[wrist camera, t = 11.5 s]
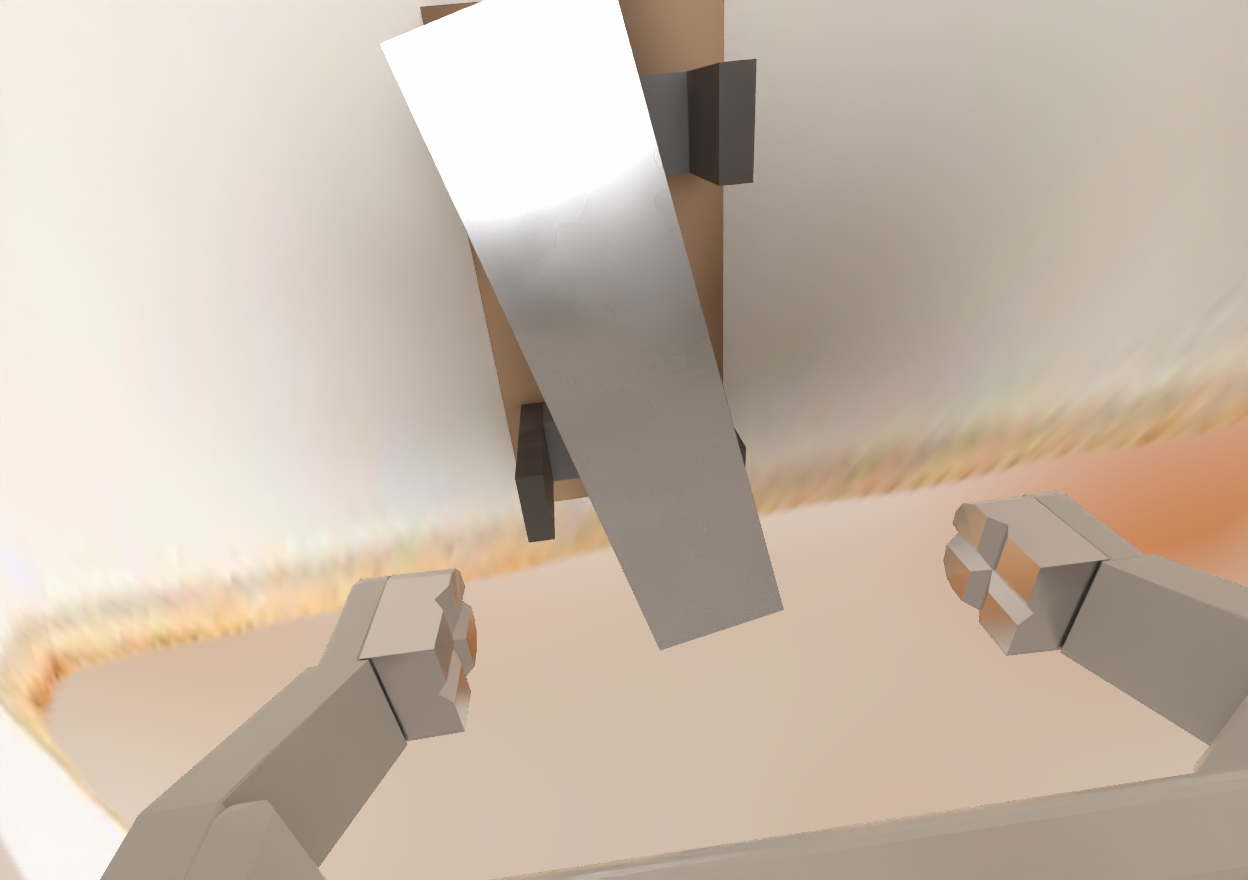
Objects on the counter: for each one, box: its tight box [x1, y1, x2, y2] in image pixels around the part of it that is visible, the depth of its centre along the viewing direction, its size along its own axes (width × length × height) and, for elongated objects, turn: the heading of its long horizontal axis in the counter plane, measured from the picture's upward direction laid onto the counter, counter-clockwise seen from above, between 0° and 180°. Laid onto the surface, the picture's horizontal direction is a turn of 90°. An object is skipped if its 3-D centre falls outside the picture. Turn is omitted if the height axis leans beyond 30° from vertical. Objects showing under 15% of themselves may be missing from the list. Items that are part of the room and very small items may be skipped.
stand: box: [420, 0, 756, 542], centre depth 22 cm, size 10×20×7 cm, turn 5°
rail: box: [380, 0, 784, 650], centre depth 17 cm, size 18×4×4 cm, turn 19°
